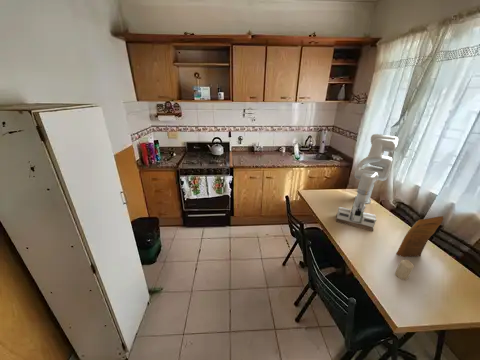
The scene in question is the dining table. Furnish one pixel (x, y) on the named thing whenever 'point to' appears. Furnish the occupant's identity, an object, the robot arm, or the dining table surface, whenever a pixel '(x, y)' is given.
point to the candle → (404, 269)
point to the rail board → (365, 223)
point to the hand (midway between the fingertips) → (357, 212)
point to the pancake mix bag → (418, 237)
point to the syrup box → (355, 217)
